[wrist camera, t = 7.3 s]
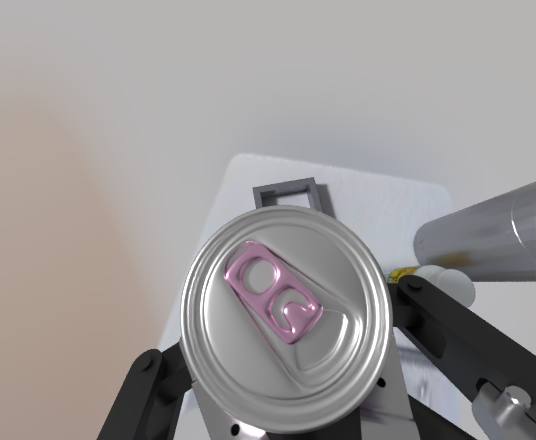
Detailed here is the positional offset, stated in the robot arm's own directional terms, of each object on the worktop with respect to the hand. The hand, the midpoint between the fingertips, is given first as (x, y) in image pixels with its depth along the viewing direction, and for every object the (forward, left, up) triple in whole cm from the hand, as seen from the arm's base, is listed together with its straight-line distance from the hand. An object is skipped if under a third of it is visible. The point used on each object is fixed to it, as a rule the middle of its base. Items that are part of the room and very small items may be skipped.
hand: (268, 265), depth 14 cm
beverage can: (0, +2, -7) cm, 8 cm away
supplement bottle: (-19, +5, -20) cm, 28 cm away
